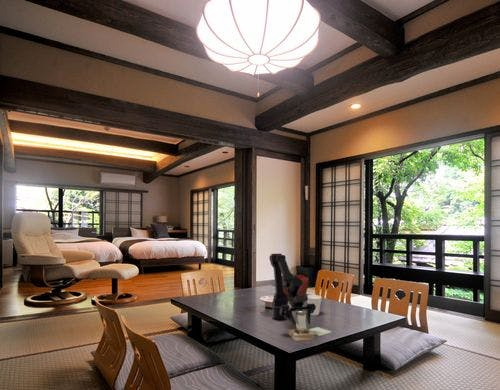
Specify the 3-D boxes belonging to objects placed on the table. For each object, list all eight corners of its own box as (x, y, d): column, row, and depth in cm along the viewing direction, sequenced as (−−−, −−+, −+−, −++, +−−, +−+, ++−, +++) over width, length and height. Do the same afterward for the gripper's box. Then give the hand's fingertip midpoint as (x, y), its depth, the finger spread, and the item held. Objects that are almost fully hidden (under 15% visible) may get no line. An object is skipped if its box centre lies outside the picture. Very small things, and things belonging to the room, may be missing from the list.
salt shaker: (293, 337, 164) (293, 310, 165) (299, 334, 168) (298, 308, 170) (303, 339, 160) (303, 312, 162) (309, 336, 165) (308, 310, 166)
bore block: (288, 335, 168) (288, 329, 168) (306, 333, 170) (306, 327, 171) (295, 342, 158) (295, 335, 159) (314, 340, 161) (314, 334, 161)
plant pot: (278, 297, 256) (277, 275, 258) (301, 296, 260) (300, 274, 261) (284, 302, 238) (284, 279, 239) (309, 301, 241) (309, 278, 243)
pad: (305, 331, 174) (305, 330, 174) (317, 328, 180) (317, 327, 180) (319, 336, 166) (319, 335, 166) (332, 332, 172) (332, 331, 172)
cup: (319, 312, 212) (319, 295, 213) (323, 316, 202) (323, 298, 203) (304, 312, 212) (304, 295, 213) (308, 316, 202) (307, 298, 203)
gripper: (280, 289, 168) (288, 317, 156) (314, 287, 172) (324, 314, 161) (276, 301, 175) (283, 329, 163) (308, 299, 179) (317, 326, 168)
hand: (302, 324), depth 164 cm, fingers open, 8 cm apart
